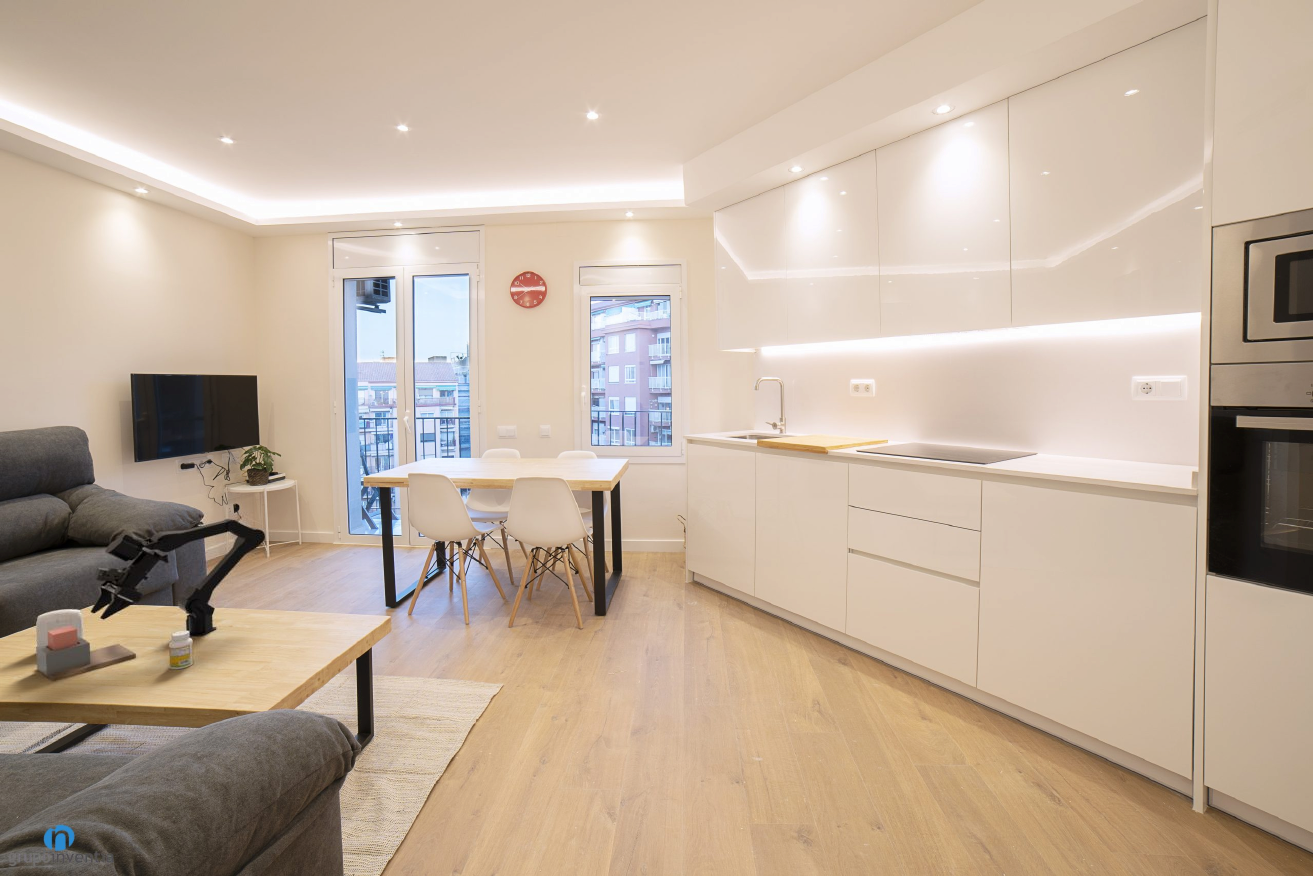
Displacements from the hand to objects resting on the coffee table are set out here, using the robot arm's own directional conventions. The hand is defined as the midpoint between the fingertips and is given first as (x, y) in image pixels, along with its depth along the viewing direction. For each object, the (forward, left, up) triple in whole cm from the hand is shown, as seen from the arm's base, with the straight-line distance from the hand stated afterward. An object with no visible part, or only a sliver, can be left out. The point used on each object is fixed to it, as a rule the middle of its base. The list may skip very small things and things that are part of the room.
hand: (96, 615), depth 175 cm
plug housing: (+3, +7, -12) cm, 14 cm away
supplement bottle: (-28, +3, -13) cm, 32 cm away
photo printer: (+19, -7, -13) cm, 24 cm away
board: (+1, +3, -13) cm, 13 cm away
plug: (+3, +7, -8) cm, 11 cm away
